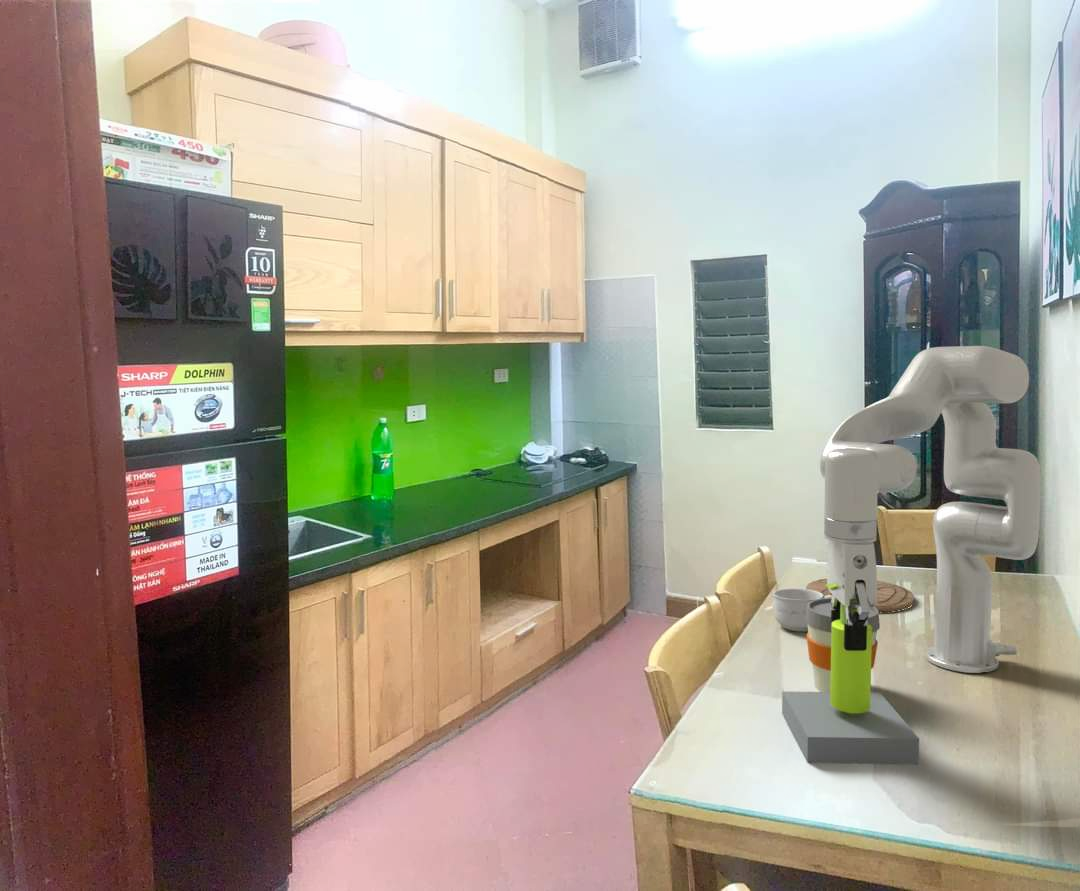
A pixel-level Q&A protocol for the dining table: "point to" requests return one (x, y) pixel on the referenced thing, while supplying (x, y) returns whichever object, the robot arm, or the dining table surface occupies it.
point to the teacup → (794, 607)
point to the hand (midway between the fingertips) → (848, 640)
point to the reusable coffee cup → (828, 639)
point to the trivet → (887, 595)
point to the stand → (848, 731)
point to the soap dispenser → (849, 668)
